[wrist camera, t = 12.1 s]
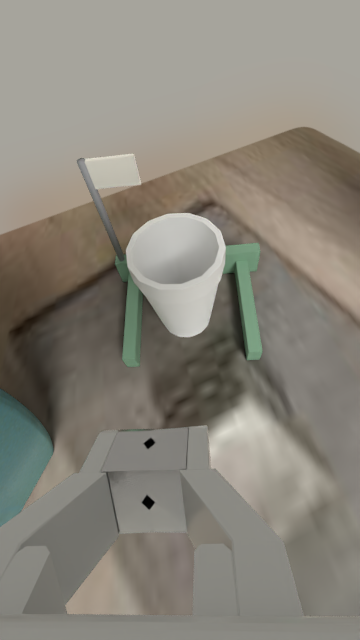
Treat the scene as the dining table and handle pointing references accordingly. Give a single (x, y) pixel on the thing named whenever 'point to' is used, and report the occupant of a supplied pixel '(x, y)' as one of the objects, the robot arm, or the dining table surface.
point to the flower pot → (20, 455)
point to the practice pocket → (119, 175)
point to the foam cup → (178, 269)
